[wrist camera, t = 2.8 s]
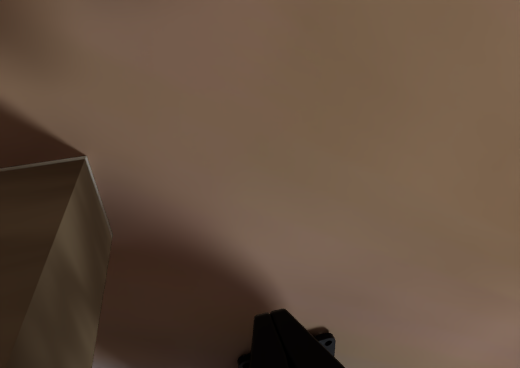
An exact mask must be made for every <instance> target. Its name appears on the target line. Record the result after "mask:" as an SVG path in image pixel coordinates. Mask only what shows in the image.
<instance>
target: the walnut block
mask: <svg viewBox="0 0 520 368" xmlns="http://www.w3.org/2000/svg"><path fill="white" fill-rule="evenodd" d="M112 237H113V234H112V231H111V228H110V225H109V222H108V219H107V216H106V213H105V210H104V207H103V204H102V201H101V198H100V195H99V192H98V189H97V186H96V183H95V180H94V177H93V174H92V171H91V168H90V165H89V162H88V159H87V156H81V157H74V158H67V159H61V160H54V161H47V162H40V163H34V164H27V165H20V166H13V167H7V168H0V368H92V362H93V356H94V350H95V343H96V337H97V331H98V325H99V318H100V312H101V306H102V300H103V293H104V287H105V281H106V275H107V268H108V262H109V256H110V250H111V243H112Z"/></svg>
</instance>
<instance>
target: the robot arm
mask: <svg viewBox="0 0 520 368" xmlns="http://www.w3.org/2000/svg"><path fill="white" fill-rule="evenodd" d="M334 353H335V338H334V336H333V334H331V333H325V334H321V335H318V336H314V337H313V336H312V335H311V334H310V333H309V332H308V331H307V330H306V329H305V328H304V327H303V326H302V325H301V324H300V323H299V322H298V321H297V320H296V319H295V318H294V317H293V316H292V315H291V314H290V313H289V312H288V311H287V310H286V309H279V310H275V311H272V312H271V313H270V314H269V313H263V314H259V315H256V316H255V317H254V325H253V336H252V348H251V353H250V354H247V355H244V356H241V357H240V358H239V359H238V368H345V367H344V366H343V365H342V364H341V363H340V362H339V361H338V360H337V359H336V358H335V357H334Z"/></svg>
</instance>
